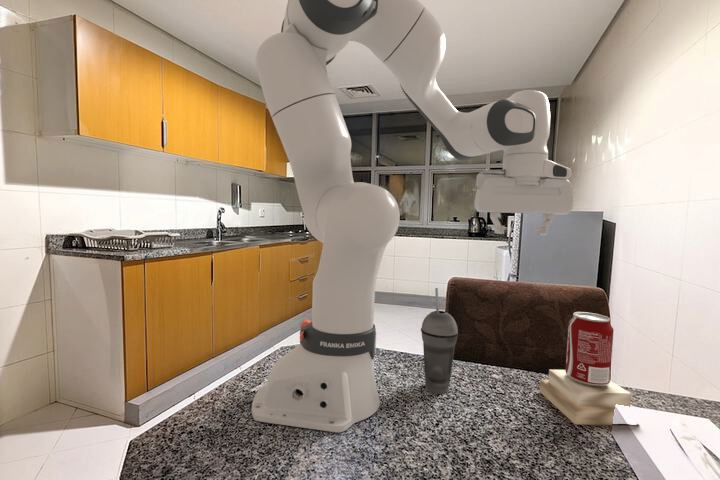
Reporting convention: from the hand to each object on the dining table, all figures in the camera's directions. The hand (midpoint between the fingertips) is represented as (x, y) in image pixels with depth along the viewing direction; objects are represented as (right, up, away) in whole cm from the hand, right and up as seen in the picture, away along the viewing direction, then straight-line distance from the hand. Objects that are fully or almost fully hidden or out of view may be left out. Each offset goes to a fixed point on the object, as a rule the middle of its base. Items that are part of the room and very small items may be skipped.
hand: (520, 234), depth 75 cm
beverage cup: (-20, -31, -7) cm, 37 cm away
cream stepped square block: (+6, -32, -12) cm, 35 cm away
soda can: (+6, -27, -12) cm, 31 cm away
